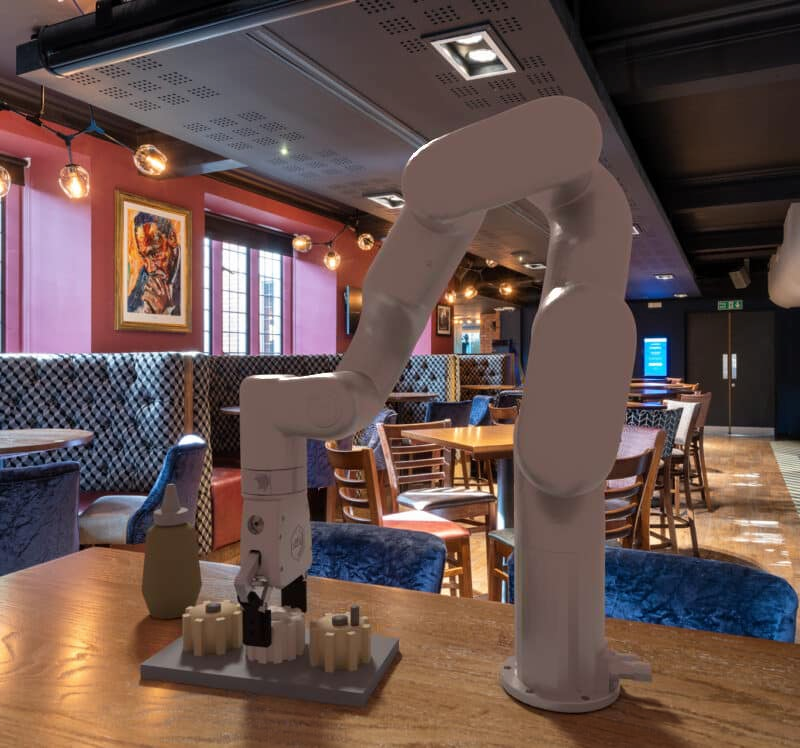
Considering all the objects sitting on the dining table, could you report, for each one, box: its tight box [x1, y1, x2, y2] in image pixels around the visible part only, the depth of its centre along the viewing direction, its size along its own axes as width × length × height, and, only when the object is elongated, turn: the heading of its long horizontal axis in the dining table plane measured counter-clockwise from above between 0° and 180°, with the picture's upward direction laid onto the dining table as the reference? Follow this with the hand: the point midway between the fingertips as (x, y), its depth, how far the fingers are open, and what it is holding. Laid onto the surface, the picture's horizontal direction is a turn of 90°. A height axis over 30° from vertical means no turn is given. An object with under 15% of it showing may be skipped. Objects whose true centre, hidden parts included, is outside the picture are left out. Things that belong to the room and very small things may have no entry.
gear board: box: [139, 599, 400, 709], centre depth 78 cm, size 26×14×8 cm, turn 75°
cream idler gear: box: [245, 605, 306, 664], centre depth 78 cm, size 7×7×4 cm
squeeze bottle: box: [141, 483, 203, 620], centre depth 94 cm, size 8×8×18 cm
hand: (276, 628), depth 78 cm, fingers open, 9 cm apart
